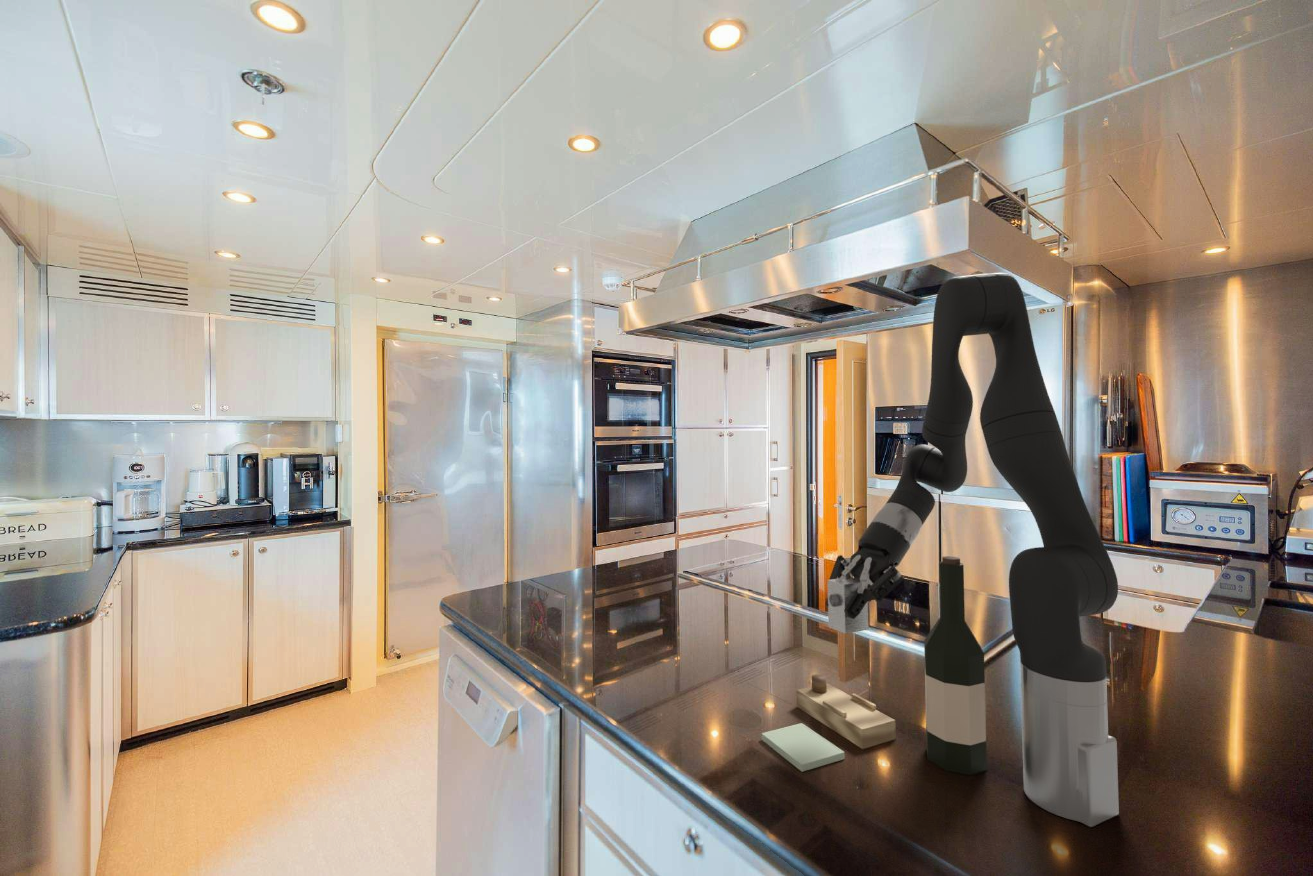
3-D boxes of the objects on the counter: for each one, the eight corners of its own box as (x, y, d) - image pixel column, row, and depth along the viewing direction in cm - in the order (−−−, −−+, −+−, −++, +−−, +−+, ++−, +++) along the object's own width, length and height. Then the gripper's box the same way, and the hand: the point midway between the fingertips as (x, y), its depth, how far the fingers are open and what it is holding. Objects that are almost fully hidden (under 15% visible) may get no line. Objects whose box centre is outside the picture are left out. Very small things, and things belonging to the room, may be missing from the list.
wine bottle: (916, 759, 83) (911, 558, 84) (936, 738, 89) (932, 550, 90) (978, 782, 77) (972, 565, 78) (995, 758, 83) (990, 557, 84)
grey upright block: (868, 629, 93) (867, 581, 94) (842, 634, 91) (841, 585, 91) (851, 623, 97) (850, 577, 97) (825, 627, 95) (824, 580, 95)
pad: (844, 758, 84) (844, 752, 84) (801, 771, 80) (801, 764, 80) (801, 729, 93) (801, 723, 93) (761, 739, 89) (761, 733, 90)
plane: (895, 739, 89) (895, 705, 89) (862, 749, 86) (861, 713, 87) (827, 699, 104) (826, 670, 104) (796, 706, 101) (796, 676, 101)
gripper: (849, 516, 104) (798, 589, 99) (912, 524, 91) (857, 608, 86) (871, 543, 106) (822, 615, 101) (935, 554, 93) (883, 638, 88)
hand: (839, 611), depth 93 cm, fingers closed on grey upright block, 4 cm apart
